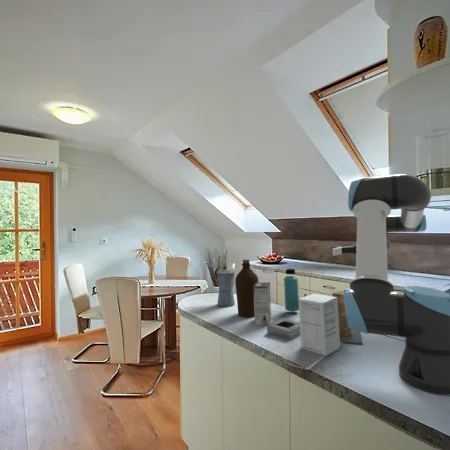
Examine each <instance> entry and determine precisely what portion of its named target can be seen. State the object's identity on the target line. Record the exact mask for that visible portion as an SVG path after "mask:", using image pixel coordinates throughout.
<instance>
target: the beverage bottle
mask: <svg viewBox="0 0 450 450" xmlns="http://www.w3.org/2000/svg"><path fill="white" fill-rule="evenodd" d="M285 274H286V276H285V277H283V282H284V283H283V284H284V285H283V286H284V287H283V288H284V305H285V306H284V307H285V311H287V312H299V299H300V298H299V297H300V296H299V283H298V281H299V280H298V279H299V278H298V277H297V276H295V274H296V271H295V268H286V269H285Z"/></svg>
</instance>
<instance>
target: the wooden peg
mask: <svg viewBox="0 0 450 450" xmlns="http://www.w3.org/2000/svg"><path fill="white" fill-rule="evenodd" d="M332 297H337V299H338V317H339V335H340V336H343V337H347V336H349V335H350V334H351V329H350V327H349V326H348V322H347V318H346V312H345V304H344V290H336V291H334V292H332Z"/></svg>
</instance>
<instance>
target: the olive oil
mask: <svg viewBox="0 0 450 450" xmlns="http://www.w3.org/2000/svg"><path fill="white" fill-rule="evenodd" d="M241 265H242V268H241V270H240V271H239V272H238V273H237V274H236V277H235V278H234V284H235V293H236V294H235V295H236V303H237V314H238V316H239V317H241V318H253V317H254V318H255V316H254V295H253V287H254V285H255V283H260V281H259V278H258V275H257V274H256V272H255V271H253V270H252V268H251V267H250V266H251V263H250V259H242V263H241Z"/></svg>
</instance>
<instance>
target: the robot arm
mask: <svg viewBox="0 0 450 450" xmlns="http://www.w3.org/2000/svg"><path fill="white" fill-rule="evenodd" d="M347 198H348V199H347V203H348V204H347V205H348V209H349V211H350V212H352V215H354V217H355V218H356V220H357V221H356V245H355V244H354V245H347V246H334V248H332V256H341V255H342V254H354V255H356V257H355V278H353V280H351V282H350V283H349V288H345V289H344V290H343V291H344V304H345V312H346V318H347V322H348V326H349V327H350V329H351V330H353V331H357V332H360V333H364V334H366V335H367V334H373V335H383V336H391V337H399V338H400V337H401V338H404V339H405V347H404V350H403V353H402V355H401V358H400V361H399V363H398V374H399V375H398V376H399V377H400V378H401V380H402V381H404V383H406V384H407V385H409V386H411V387H414V388H415V389H419V390H421V391H423V392H427V393H431V394H435V395H436V394H437V395H442V396H450V293H449V292H446V291H442V290H440V289H436V288H432V287H426V286H420V285H413V286H412V285H406V286H404V287H403V289H402V291H395V287H394V284H393V283H392V282H391V281H390V280H389V279H388V275H389V274H388V273H389V272H388V252H389V251H390V249H391V247H392V245H391V242H390V240H389V237H388V236H389V235H388V233H419V232H425V231H426V230H427V218H426V215H425V214H424V213H425V209H426V208H427V207H428V206H429V205H430V203H431V200H432V199H431V198H432V193H431V189H430V188H429V186H428V185H427V184H426V183H425V182H424V181H422V179H420V178H419V177H416V176H413V175H409V174H405V173H398V174H390V175H389V174H388V175H386V174H385V175H377V176H362V177H359V178H355V179H353V180H352V181H351V182H350V184H349V189H348V197H347ZM392 210H401V211H400V214H397V215H396V214H391V213H392ZM390 214H391V215H390Z"/></svg>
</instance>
